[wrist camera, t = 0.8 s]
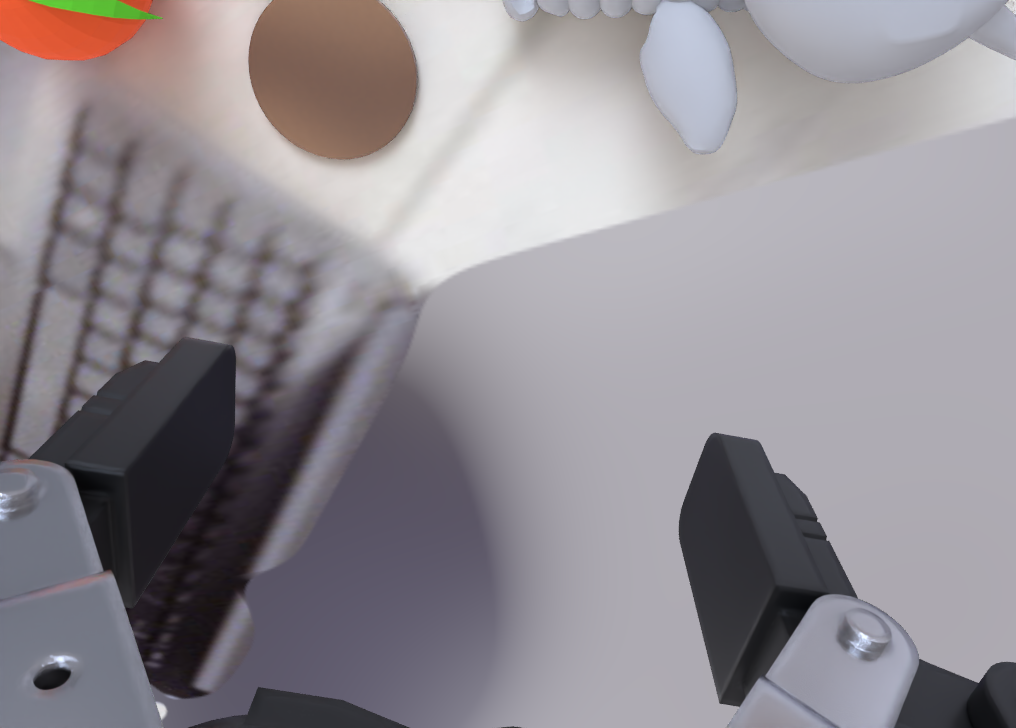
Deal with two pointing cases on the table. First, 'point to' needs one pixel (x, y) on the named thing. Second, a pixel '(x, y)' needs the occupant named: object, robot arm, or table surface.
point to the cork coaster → (333, 74)
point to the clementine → (71, 26)
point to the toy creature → (785, 45)
